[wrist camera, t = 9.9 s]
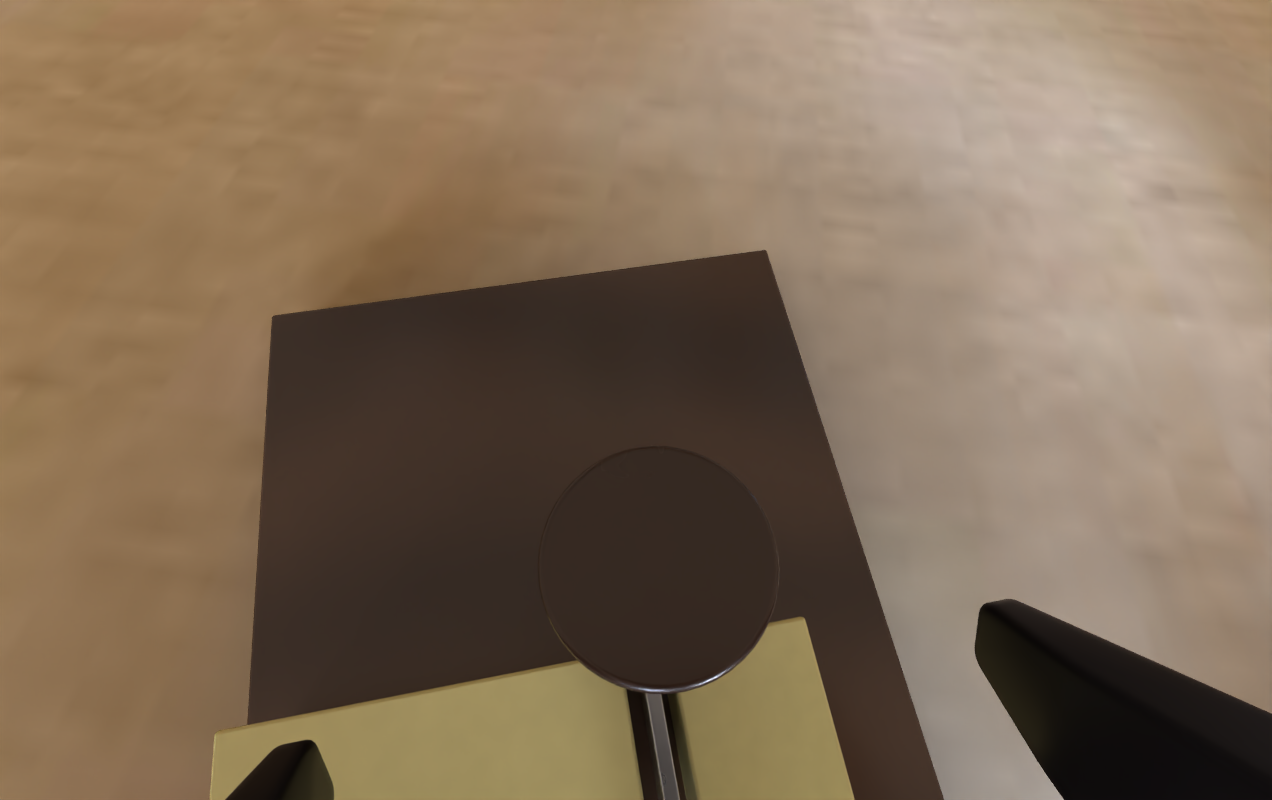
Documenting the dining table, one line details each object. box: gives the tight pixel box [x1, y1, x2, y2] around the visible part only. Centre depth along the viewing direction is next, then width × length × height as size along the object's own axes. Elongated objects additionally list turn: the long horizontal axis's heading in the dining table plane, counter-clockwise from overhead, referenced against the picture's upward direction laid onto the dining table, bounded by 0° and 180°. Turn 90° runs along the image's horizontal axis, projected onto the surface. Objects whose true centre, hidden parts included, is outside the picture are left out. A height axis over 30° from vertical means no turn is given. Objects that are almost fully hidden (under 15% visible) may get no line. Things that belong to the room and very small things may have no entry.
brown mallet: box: [538, 446, 780, 800], centre depth 10 cm, size 7×3×10 cm, turn 10°
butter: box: [210, 660, 644, 800], centre depth 13 cm, size 4×8×3 cm, turn 100°
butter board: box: [247, 250, 944, 800], centre depth 16 cm, size 20×16×2 cm
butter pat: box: [667, 617, 855, 800], centre depth 13 cm, size 4×3×3 cm
